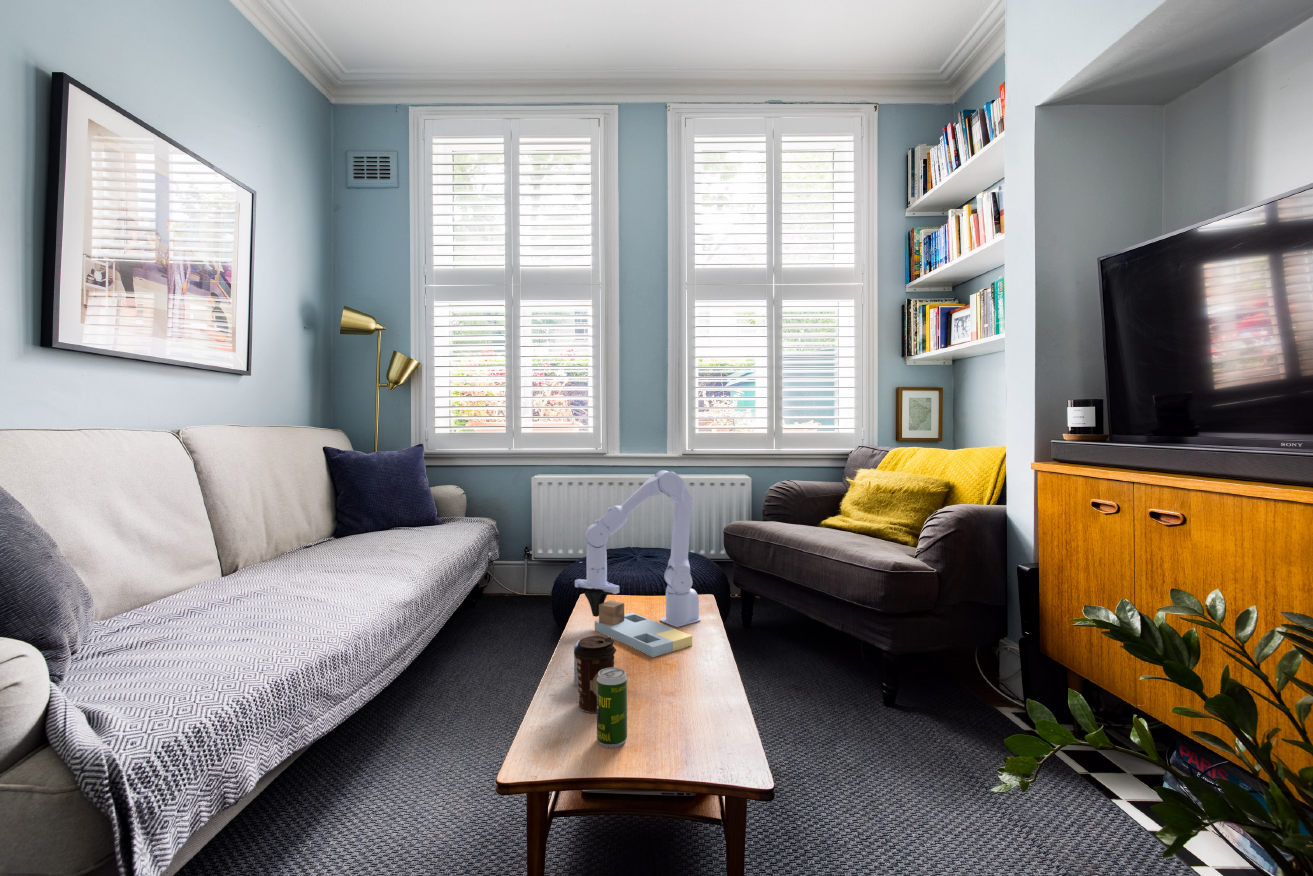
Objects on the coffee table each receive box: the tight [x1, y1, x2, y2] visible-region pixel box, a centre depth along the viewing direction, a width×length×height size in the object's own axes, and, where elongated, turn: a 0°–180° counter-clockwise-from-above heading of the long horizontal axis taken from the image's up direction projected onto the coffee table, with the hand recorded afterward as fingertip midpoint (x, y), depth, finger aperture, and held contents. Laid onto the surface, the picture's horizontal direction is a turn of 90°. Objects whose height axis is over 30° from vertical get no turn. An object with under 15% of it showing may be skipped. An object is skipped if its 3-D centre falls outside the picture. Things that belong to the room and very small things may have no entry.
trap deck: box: [594, 612, 693, 658], centre depth 156 cm, size 13×26×2 cm, turn 39°
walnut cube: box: [598, 600, 625, 626], centre depth 162 cm, size 5×5×5 cm
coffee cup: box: [573, 635, 617, 714], centre depth 116 cm, size 9×8×13 cm
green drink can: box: [596, 667, 628, 749], centre depth 103 cm, size 5×5×12 cm
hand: (596, 615), depth 165 cm, fingers closed
